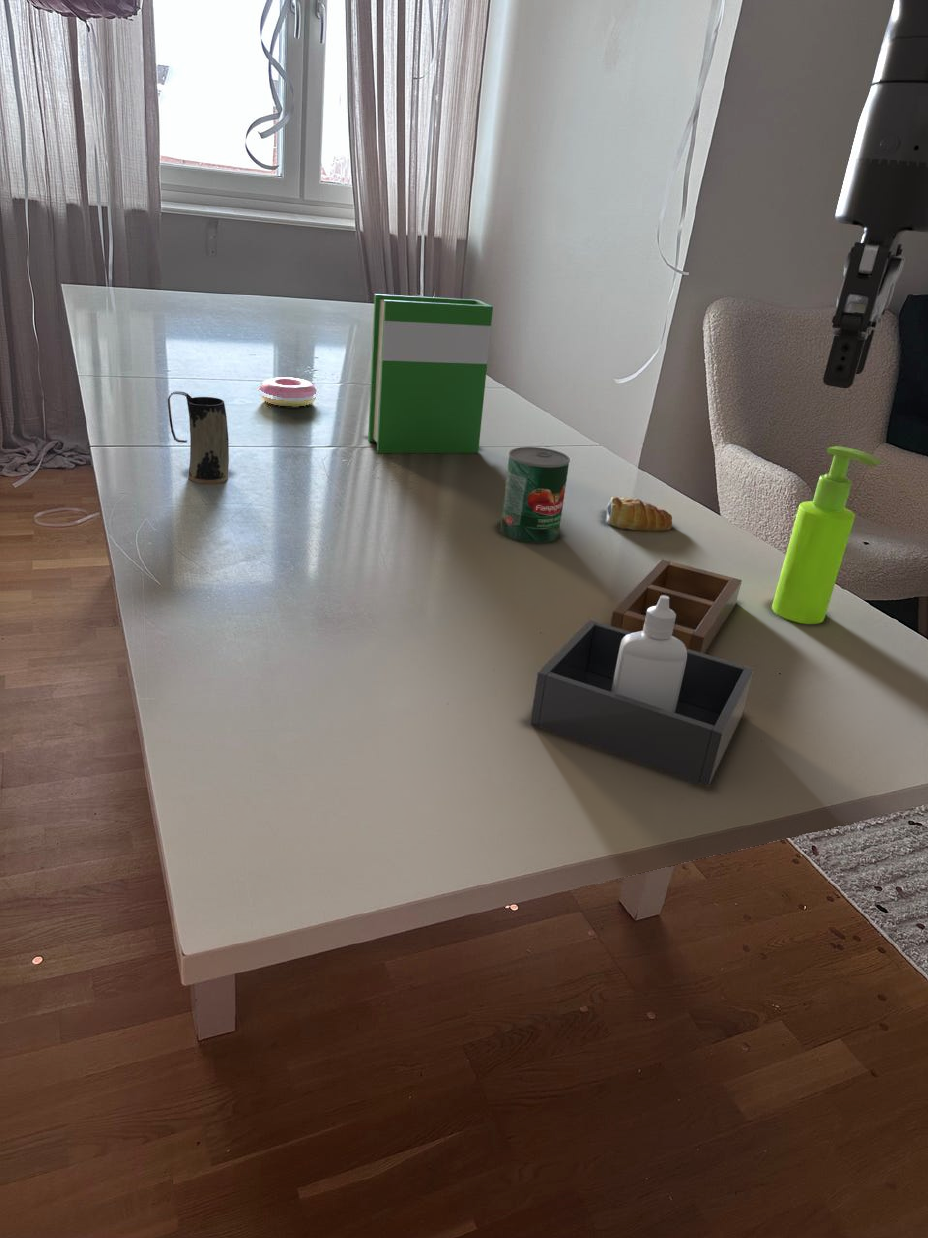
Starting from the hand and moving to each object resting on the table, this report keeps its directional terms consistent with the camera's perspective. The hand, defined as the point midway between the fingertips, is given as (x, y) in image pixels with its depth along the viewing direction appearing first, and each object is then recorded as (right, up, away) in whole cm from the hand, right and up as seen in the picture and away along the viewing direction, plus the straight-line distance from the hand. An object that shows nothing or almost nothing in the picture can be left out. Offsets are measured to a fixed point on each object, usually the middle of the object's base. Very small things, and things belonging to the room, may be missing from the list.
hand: (842, 378), depth 74 cm
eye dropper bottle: (-16, -29, +5) cm, 33 cm away
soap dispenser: (+8, -20, +30) cm, 37 cm away
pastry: (-7, -7, +54) cm, 55 cm away
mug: (-69, 0, +55) cm, 88 cm away
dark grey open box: (-16, -29, +6) cm, 34 cm away
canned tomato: (-23, -9, +46) cm, 52 cm away
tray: (-8, -20, +26) cm, 34 cm away
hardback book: (-38, +10, +80) cm, 89 cm away
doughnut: (-65, +22, +99) cm, 121 cm away
